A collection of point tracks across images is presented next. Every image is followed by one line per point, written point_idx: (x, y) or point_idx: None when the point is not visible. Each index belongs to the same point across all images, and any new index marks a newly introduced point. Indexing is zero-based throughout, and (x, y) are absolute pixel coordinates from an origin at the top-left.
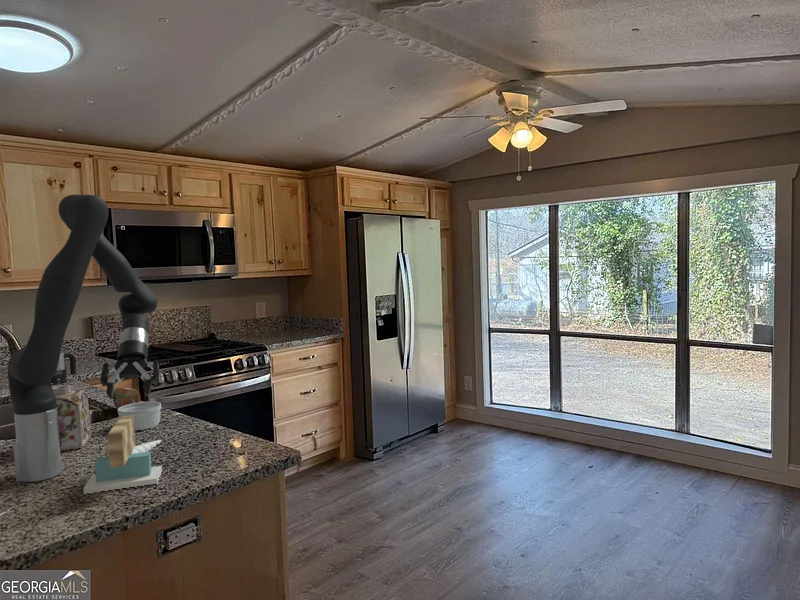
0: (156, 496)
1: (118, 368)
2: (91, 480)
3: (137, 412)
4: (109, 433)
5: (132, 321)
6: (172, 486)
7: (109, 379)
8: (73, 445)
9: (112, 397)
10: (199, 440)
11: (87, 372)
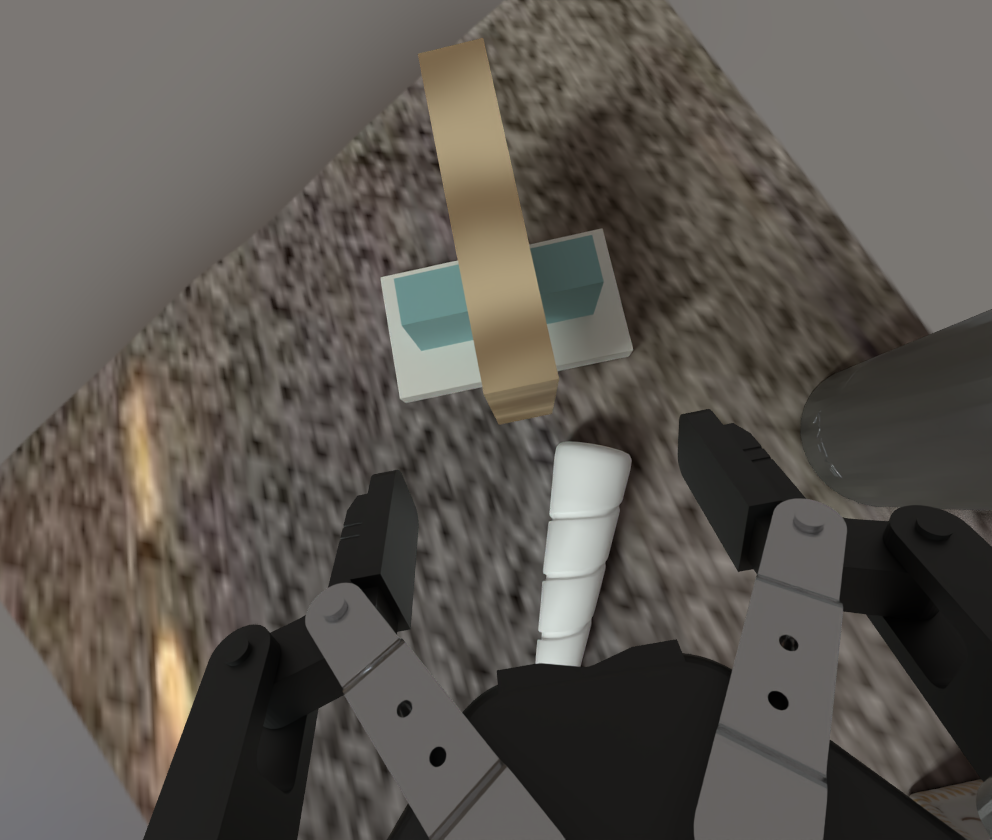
0: (363, 199)
1: (854, 779)
2: (608, 290)
3: None
4: (478, 49)
5: None
6: (335, 266)
7: (831, 541)
8: (961, 800)
9: (680, 452)
10: (346, 790)
11: None
